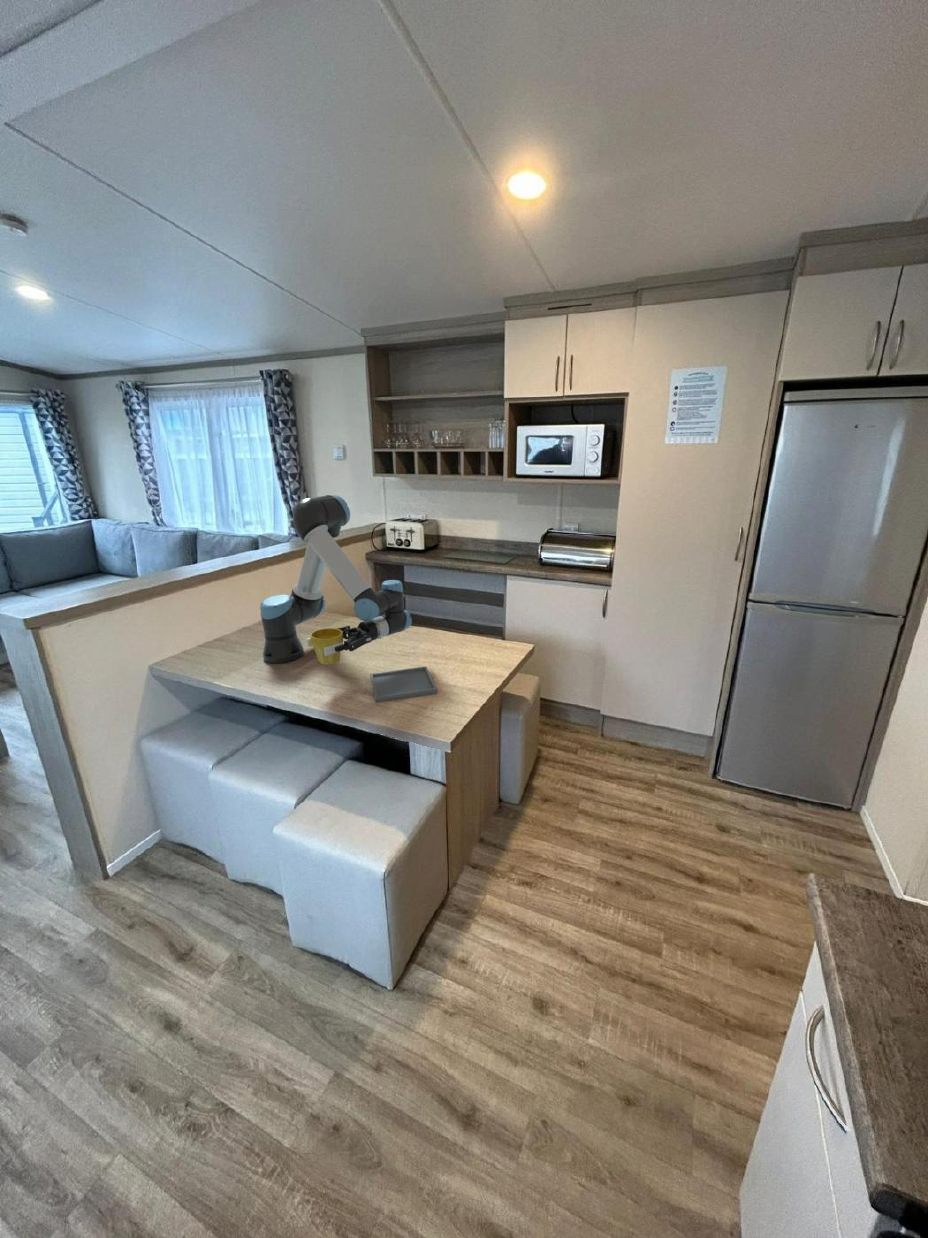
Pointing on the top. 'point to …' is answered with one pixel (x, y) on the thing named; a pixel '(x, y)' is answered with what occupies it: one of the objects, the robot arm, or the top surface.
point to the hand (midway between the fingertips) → (316, 647)
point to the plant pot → (326, 643)
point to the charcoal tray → (402, 684)
